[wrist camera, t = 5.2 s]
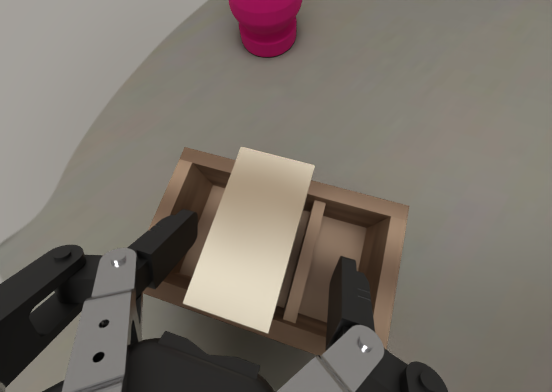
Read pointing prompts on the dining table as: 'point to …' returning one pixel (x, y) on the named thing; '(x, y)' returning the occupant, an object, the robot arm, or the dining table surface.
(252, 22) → the pepper mill
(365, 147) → the dining table surface
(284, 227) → the ash block
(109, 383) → the robot arm
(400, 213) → the walnut box
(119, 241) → the dining table surface
